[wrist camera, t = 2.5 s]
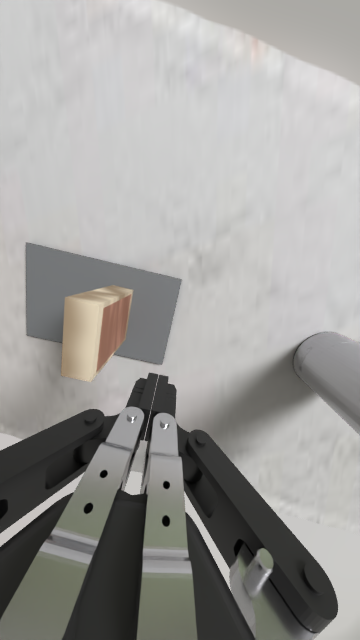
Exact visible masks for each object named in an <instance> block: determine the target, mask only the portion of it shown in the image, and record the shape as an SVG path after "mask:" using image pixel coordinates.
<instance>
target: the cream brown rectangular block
mask: <svg viewBox="0 0 360 640" xmlns="http://www.w3.org/2000/svg"><path fill="white" fill-rule="evenodd" d="M132 296H133V290H132V289H128V288H123V287H119V286H115V285H111V286H107V287H103V288H100V289H96V290H92V291H88V292H84V293H80V294H76V295H72V296H68V297H65V305H64V325H63V345H62V365H61V376H65V377H70V378H75V379H79V380H84V381H89V382H91V381H92V380H93V379H94V378H95V377H96V375H97V374H98V373H99V372H100V370H101V369H102V368H103V367H104V365H105V364H106V363H107V362H108V361H109V359H110V358H111V357H112V356H113V354H114V353H115V352H116V351H117V349H118V348H119V347H120V346H121V345H122V343H123V342H124V341H125V340H126V334H127V328H128V321H129V315H130V309H131V302H132Z"/></svg>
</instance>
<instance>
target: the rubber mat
mask: <svg viewBox="0 0 360 640" xmlns="http://www.w3.org/2000/svg"><path fill="white" fill-rule="evenodd" d="M181 280H182V279H178V278H173V277H169V276H165V275H161V274H157V273H152V272H148V271H144V270H140V269H136V268H132V267H127V266H123V265H119V264H115V263H111V262H107V261H102V260H98V259H94V258H90V257H86V256H81V255H77V254H73V253H69V252H65V251H61V250H56V249H52V248H48V247H44V246H40V245H36V244H31V243H26V308H27V335H28V336H33V337H38V338H42V339H47V340H51V341H56V342H60V343H63V325H64V305H65V297H68V296H72V295H76V294H80V293H84V292H88V291H92V290H96V289H100V288H103V287H107V286H111V285H115V286H119V287H123V288H128V289H132V290H133V296H132V302H131V309H130V315H129V321H128V328H127V334H126V340H125V341H124V342H123V343H122V345H121V346H120V347H119V348H118V349H117V351H116V352H115V353H114V354H115V355H120V356H124V357H129V358H133V359H138V360H143V361H147V362H152V363H156V364H161V365H162V363H163V359H164V354H165V350H166V346H167V341H168V337H169V333H170V328H171V324H172V320H173V315H174V311H175V307H176V302H177V298H178V294H179V289H180V285H181Z"/></svg>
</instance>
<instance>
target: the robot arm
mask: <svg viewBox="0 0 360 640" xmlns="http://www.w3.org/2000/svg"><path fill="white" fill-rule="evenodd" d="M293 365H294V369H295V372H296V374H297V375H298V376H299V377H300V378H301V379H302V380H303V381H304V382H305V383H306V384H307V385H308V386H309V387H310V388H311V389H312V390H313V391H314V392H315V393H316V394H317V395H318V396H319V397H321V398H322V399H323V400H324V401H325V402H326V403H327V404H328V405H329V406H330V407H331V408H332V409H333V410H334V411H335V412H336V413H337V414H338V415H339V416H340V417H341V418H342V419H344V420H345V421H346V422H347V423H348V424H349V425H350V426H351V427H352V428H353V429H354V430H355V431H356V432H357V433H358V434H359V435H360V343H359V342H357V341H355V340H352V339H350V338H348V337H345V336H343V335H341V334H338V333H334V332H324V333H319V334H316V335H314V336H312V337H310V338H308V339H307V340H306V341H304V342H303V343H302V344H301V345H300V346H299V348H298V349H297V351H296V353H295V356H294V361H293ZM157 379H158V382H157ZM156 383H157V386H156ZM155 388H156V391H155ZM154 392H155V395H154ZM153 397H154V400H153ZM152 401H153V404H152ZM151 406H152V409H151ZM150 410H151V414H150ZM175 410H176V388H175V386H174V385H172V384H168V376H163V375H159V378H158V374H154V373H149V375H148V378H147V379H143V378H140V379H139V380H137V381H136V383H135V385H134V388H133V390H132V393H131V395H130V398H129V400H128V403H127V405H126V408H125V409H123V410H122V411H121V413H120V414H118V415H114V416H104V414H103V412H102V411H100V410H97V409H89V410H86V411H84V412H81V413H79V414H77V415H75V416H73V417H71V418H69V419H67V420H64V421H62V422H60V423H58V424H56V425H54V426H52V427H50V428H48V429H45V430H43V431H41V432H39V433H37V434H35V435H33V436H31V437H28V438H26V439H24V440H22V441H20V442H18V443H16V444H14V445H12V446H9V447H7V448H5V449H3V450H1V451H0V533H1V532H3V531H4V530H5V529H7V528H8V527H10V526H11V525H12V524H14V523H15V522H16V521H18V520H19V519H20V518H22V517H23V516H25V515H26V514H27V513H29V512H30V511H32V510H33V509H34V508H36V507H37V506H38V505H40V504H41V503H42V502H44V501H45V500H46V499H48V498H49V497H51V496H52V495H53V494H55V493H56V492H57V491H59V490H60V489H62V488H63V487H64V486H66V485H67V484H69V483H70V482H71V481H73V480H74V479H75V478H77V477H78V476H79V475H81V474H82V473H83V472H85V473H84V475H83V477H82V479H81V480H80V482H79V484H78V486H77V488H76V490H75V491H74V492H73V493H71V494H69V495H67V496H65V497H63V498H62V499H60V500H59V501H57V502H56V503H54V504H53V505H52V506H50V507H49V508H48V509H47V510H45V511H44V512H43V513H42V514H40V515H39V516H38V517H37V518H36V519H34V520H33V521H32V522H31V523H29V524H28V525H27V526H26V527H24V528H23V529H22V530H21V531H19V532H18V533H17V534H16V535H14V536H13V537H12V538H11V539H10V540H8V541H7V542H6V543H4V544H3V545H2V546H1V547H0V640H313V639H314V638H315V637H316V636H317V635H318V634H319V633H320V632H321V631H322V630H323V629H324V628H325V627H326V626H327V625H328V624H329V623H330V622H331V621H332V620H333V619H334V618H335V617H336V615H337V612H338V603H337V598H336V594H335V591H334V588H333V586H332V584H331V582H330V580H329V578H328V576H327V575H326V573H325V571H324V570H323V569H322V567H321V566H320V565H319V563H318V562H317V561H316V560H315V559H314V557H313V556H312V555H311V554H310V553H309V552H308V550H307V549H306V548H305V547H304V546H303V545H302V544H301V542H300V541H299V540H298V539H297V538H296V536H295V535H294V534H293V533H292V532H291V531H290V529H288V527H287V526H286V525H285V524H284V523H283V521H282V520H281V519H280V518H279V517H278V516H277V514H276V513H275V512H274V511H273V510H272V509H271V507H270V506H269V505H268V504H267V503H266V502H265V500H264V499H263V498H262V497H261V496H260V495H259V493H258V492H257V491H256V490H255V489H254V488H253V486H252V485H251V484H250V483H249V482H248V481H247V479H246V478H245V477H244V476H243V475H242V474H241V472H240V471H239V470H238V469H237V468H236V467H235V465H234V464H233V463H232V462H231V461H230V460H229V458H228V457H227V456H226V455H225V454H224V453H223V451H222V450H221V449H220V448H219V447H218V446H217V444H216V443H215V442H214V441H213V440H212V439H211V437H210V436H209V435H208V434H207V433H205V432H204V431H201V430H193V431H191V432H190V433H189V432H187V431H185V430H183V429H182V428H180V427H179V425H178V424H177V422H176V420H175ZM149 415H150V418H149ZM148 419H149V423H148ZM147 423H148V428H147ZM146 428H147V432H146ZM145 432H146V437H145V441H148V444H147V449H146V453H145V459H144V467H143V476H142V484H141V491H140V494H138V495H130V494H128V493H126V492H124V489H125V486H126V483H127V480H128V477H129V474H130V471H131V468H132V464H133V461H134V458H135V455H136V452H137V450H138V447H139V444H140V440H144V436H145ZM184 491H185V493H186V495H187V496H188V498H189V500H190V502H191V503H192V505H193V507H194V508H195V510H196V512H197V514H198V515H199V517H200V519H201V520H202V522H203V524H204V526H205V527H206V529H207V530H208V532H209V534H210V536H211V538H212V539H213V541H214V543H215V544H216V546H217V548H218V550H219V551H220V553H221V555H222V556H223V558H224V560H225V562H226V563H227V565H228V567H229V568H230V587H231V591H232V593H231V591H230V589H229V587H228V585H227V583H226V581H225V579H224V577H223V575H222V574H221V572H220V570H219V568H218V566H217V564H216V562H215V560H214V558H213V556H212V554H211V553H210V551H209V549H208V547H207V545H206V543H205V541H204V539H203V537H202V535H201V533H200V531H199V529H198V528H197V526H196V524H195V523H194V521H193V520H192V518H191V517H190V516H189V515H188V514H187V513H186V512H185V500H184ZM232 594H233V595H232Z"/></svg>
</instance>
